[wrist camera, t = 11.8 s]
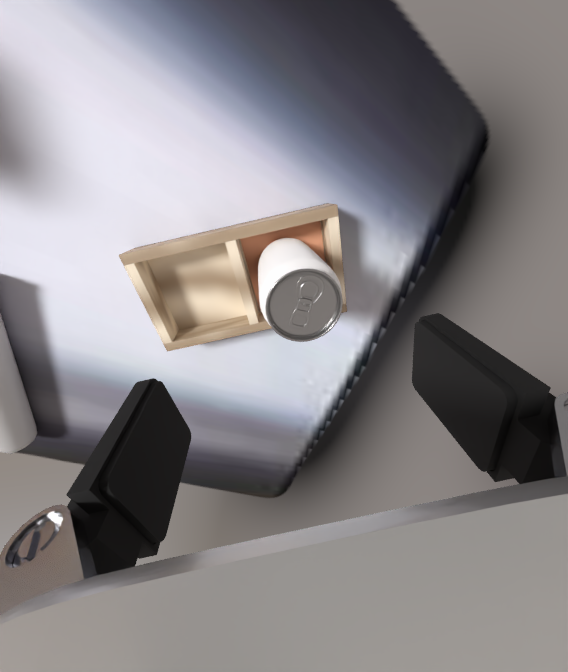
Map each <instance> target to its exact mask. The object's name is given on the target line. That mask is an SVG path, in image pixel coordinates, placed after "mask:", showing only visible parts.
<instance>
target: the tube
mask: <svg viewBox="0 0 568 672" xmlns="http://www.w3.org/2000/svg"><path fill="white" fill-rule="evenodd" d="M36 435H37V428H36V423H35V420H34V417H33V414H32V411H31V408H30V404H29V401H28V398H27V395H26V392H25V389H24V385H23V382H22V379H21V376H20V373H19V370H18V367H17V363H16V360H15V357H14V354H13V351H12V348H11V344H10V341H9V338H8V335H7V332H6V329H5V326H4V322H3V319H2V316H1V313H0V452H4V453H10V454H12V453H14V452H16V451H19V450H21V449H23V448H25V447H26V446H28V445H29V444H30V443H31V442H32V441H34V439H35V437H36Z"/></svg>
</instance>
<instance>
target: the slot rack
mask: <svg viewBox="0 0 568 672" xmlns="http://www.w3.org/2000/svg"><path fill="white" fill-rule="evenodd" d="M281 238H294V239H298V240H300V241H302V242H304V243H305V244H306V245H308V246H309V247H310V248H311V249H312V250H313V251H314V252H315V253H316V254H317V255H318V256H319V257H320V258H321V259H322V260H323V261H324V262H325V263H326V264H327V265H328V266H329V267H330V268H331V269H332V270H333V271H334V273H335V274H336V276H337V278H338V280H339V282H340V285H341V290H342V299H343V306H342V311H341V313H343V312H347V306H346V295H345V284H344V273H343V262H342V251H341V240H340V229H339V218H338V207H337V205H336V204H329V203H327V204H323V205H319V206H314V207H310V208H306V209H301V210H297V211H293V212H288V213H284V214H280V215H275V216H271V217H267V218H262V219H258V220H254V221H249V222H245V223H241V224H236V225H232V226H228V227H223V228H219V229H215V230H210V231H206V232H202V233H198V234H193V235H189V236H185V237H180V238H176V239H172V240H167V241H163V242H159V243H154V244H150V245H146V246H141V247H137V248H134V249H132V250H129V251H127V252H125V253H122V254H120V255H119V257H120V259H121V261H122V263H123V265H124V267H125V269H126V271H127V273H128V275H129V277H130V279H131V281H132V283H133V285H134V287H135V289H136V291H137V293H138V295H139V297H140V299H141V301H142V302H143V304H144V306H145V308H146V310H147V312H148V314H149V316H150V318H151V320H152V322H153V324H154V326H155V328H156V330H157V332H158V334H159V336H160V338H161V340H162V342H163V344H164V346H165V348H166V350H167V351H171V350H176V349H180V348H185V347H189V346H194V345H198V344H203V343H207V342H212V341H216V340H221V339H225V338H230V337H234V336H239V335H243V334H248V333H252V332H257V331H261V330H266V329H270V328H272V327H271V326H270V325H269V324H268V322H267V321H266V320H265V318H264V316H263V314H262V311H261V308H260V302H259V286H258V263H259V259H260V256H261V254H262V252H263V251H264V249H265V248H266V247H267V246H268V245H269V244H270V243H272V242H274V241H275V240H278V239H281Z"/></svg>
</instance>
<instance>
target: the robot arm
mask: <svg viewBox="0 0 568 672" xmlns="http://www.w3.org/2000/svg"><path fill="white" fill-rule="evenodd" d="M412 383H413V386H414V388H415V390H416V391H417V392H418V393H419V395H420V396H421V397H422V398H423V400H424V401H425V402H426V403H427V405H428V406H429V407H430V408H431V410H432V411H433V412H434V413H435V415H436V416H437V417H438V418H439V420H440V421H441V422H442V423H443V425H444V426H445V427H446V428H447V430H448V431H449V432H450V433H451V434H452V436H453V437H454V438H455V439H456V441H457V442H458V443H459V444H460V446H461V447H462V448H463V449H464V451H465V452H466V453H467V455H468V456H469V457H470V458H471V460H472V461H473V462H474V463H475V464H476V466H477V467H478V468H479V469H480V470H481V471H484V472H485V471H487V473H488V474H489V475H490V476H491V477H492V479H493V480H494V481H495V482H498V481H502V480H507V479H512V478H515V479H516V480H517V482H518V483H519V484H518V485H513V486H508V487H503V488H497V489H492V490H487V491H481V492H477V493H472V494H467V495H463V496H457V497H453V498H448V499H443V500H438V501H433V502H429V503H424V504H419V505H415V506H410V507H405V508H400V509H395V510H390V511H386V512H381V513H376V514H371V515H367V516H362V517H357V518H353V519H348V520H343V521H339V522H334V523H330V524H325V525H320V526H315V527H311V528H306V529H301V530H297V531H292V532H288V533H283V534H278V535H273V536H269V537H264V538H260V539H255V540H250V541H246V542H241V543H237V544H232V545H228V546H223V547H219V548H214V549H210V550H205V551H200V552H196V553H191V554H187V555H182V556H178V557H173V558H169V559H164V560H160V561H155V562H151V563H147V564H143V565H139V566H135V564H136V561H137V558H144V557H149V556H154V555H157V552H158V548H159V545H160V542H161V541H163V540H164V538H165V536H166V533H167V530H168V525H169V521H170V518H171V514H172V510H173V507H174V503H175V499H176V495H177V491H178V487H179V483H180V480H181V476H182V472H183V468H184V464H185V460H186V457H187V453H188V449H189V445H190V441H191V432H190V429H189V428H188V426H187V424H186V422H185V421H184V419H183V417H182V415H181V414H180V412H179V410H178V408H177V407H176V405H175V403H174V402H173V400H172V398H171V396H170V395H169V393H168V391H167V389H166V388H165V386H164V384H163V383H162V382H161V381H157V380H156V379H149V380H144V381H140V382H137V383H136V384H135V385H134V387H133V389H132V390H131V392H130V393H129V395H128V397H127V398H126V400H125V401H124V403H123V405H122V406H121V408H120V409H119V411H118V413H117V414H116V416H115V417H114V419H113V421H112V422H111V424H110V426H109V427H108V429H107V430H106V432H105V434H104V435H103V437H102V438H101V440H100V442H99V443H98V445H97V446H96V448H95V450H94V451H93V453H92V454H91V456H90V458H89V459H88V461H87V463H86V464H85V466H84V467H83V469H82V471H81V472H80V474H79V475H78V477H77V479H76V480H75V482H74V483H73V485H72V487H71V488H70V490H69V492H68V493H67V496H68V497H69V498H70V499H71V501H70V502H69V504H68V506H64V505H55V506H52V507H49V508H47V509H45V510H43V511H41V512H40V513H38V514H36V515H35V516H34V517H32V518H31V519H30V520H28V521H27V522H26V523H25V524H23V525H22V527H20V529H19V530H17V532H16V533H15V534H14V535H13V536H12V537H11V538H10V540H9V541H8V542H7V544H6V545H5V546H4V548H3V550H2V552H1V554H0V672H568V392H567V393H564V394H561V395H559V396H558V397H557V398H556V397H555V396H553V395H552V394H550V393H549V390H550V387H549V386H547V385H546V384H544V383H543V382H541V381H540V380H538V379H537V378H535V377H534V376H532V375H531V374H529V373H528V372H526V371H525V370H523V369H522V368H520V367H519V366H517V365H516V364H514V363H513V362H511V361H510V360H508V359H507V358H505V357H504V356H503V355H501V354H500V353H498V352H496V351H495V350H494V349H492V348H491V347H489V346H488V345H486V344H485V343H483V342H482V341H480V340H479V339H477V338H475V337H474V336H473V335H471V334H469V333H468V332H467V331H465V330H464V329H462V328H461V327H459V326H458V325H456V324H455V323H453V322H452V321H450V320H449V319H447V318H445V317H444V316H443V315H441V314H439V313H437V314H432V315H428V316H424V317H421V318H420V319H419V322H417V323H416V324H415V334H414V352H413V371H412Z"/></svg>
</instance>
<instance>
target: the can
mask: <svg viewBox="0 0 568 672" xmlns="http://www.w3.org/2000/svg"><path fill="white" fill-rule="evenodd" d="M258 286H259V302H260V308H261V311H262V314H263V316H264V318H265V320H266V321H267V322H268V324H269V325H270V326H271V327H272V328H273V329H274V331H275V332H276V333H278V334H279V335H280V336H282V337H284V338H286V339H288V340H292V341H298V342H304V341H311V340H314V339H317V338H319V337H321V336H323V335H325V334H326V333H327V332H329V331H330V330H331V329H332V328H333V327H334V325H335V324H336V323H337V321H338V319H339V317H340V315H341V311H342V306H343V299H342V290H341V285H340V282H339V280H338V278H337V276H336V274H335V273H334V271H333V270H332V269H331V268H330V267H329V266H328V265H327V264H326V263H325V262H324V261H323V260H322V259H321V258H320V257H319V256H318V255H317V254H316V253H315V252H314V251H313V250H312V249H311V248H310V247H309V246H308V245H306V244H305V243H304V242H302V241H300V240H298V239H294V238H281V239H278V240H275V241H274V242H272V243H270V244H269V245H268V246H267V247H266V248H265V249H264V251H263V252H262V254H261V256H260V259H259V263H258Z"/></svg>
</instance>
